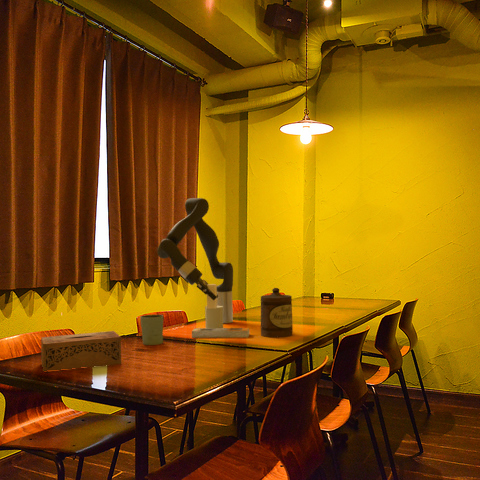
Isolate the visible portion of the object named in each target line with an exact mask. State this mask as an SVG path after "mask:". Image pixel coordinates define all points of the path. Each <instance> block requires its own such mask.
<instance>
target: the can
mask: <svg viewBox="0 0 480 480" xmlns="http://www.w3.org/2000/svg"><path fill="white" fill-rule="evenodd" d="M204 309H205V310H204V311H205V313H204V314H205V328H224V323H223V306H217V308H216V309H207V305H206V306H204Z"/></svg>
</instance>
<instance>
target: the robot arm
mask: <svg viewBox="0 0 480 480" xmlns="http://www.w3.org/2000/svg"><path fill="white" fill-rule="evenodd" d="M209 204H210V203H209V202H208V200H207V199H205V198H202V197H193V198H192V197H191V198H187V200H185V203H184V208H185V212H186V214H187V216H185V218H183V219H181V220H180V221H177V223H176V224H175V225H173V227H172V228H171V229H170V230H169V232H168V233H167V236H166V238H163V239H162V240H161V241H160V242H159V245H158V246H157V249H156V254H157V256H158V257H159V258H161V259H167V258H168V259H170V265H171V266H172V267H173V268H174V269H175V270H176V271H177V272H178V273H179V274H180V276H182V278H183V279H184V280H185V281H186V282H187V283H188V284H189V285H191V286H193V285H194V284H196V288H198V289H199V290H200V291H201V292H202V293H203V294H204V295H206V296H207V295H208V296H209V297H210V298H211V299H212V300H215V299H216V298H217V306H223V324H230V323H231V324H232V323H233V319H234V317H233V315H234V313H233V311H234V310H233V286H234V267H233V264H232V263H231V262H220V260H218V259H219V258H218V257H217V255H218V251H219V248H220V241H219V238H218V236H217V233H216V232H215V229H213V228H212V227H211V226H210V225H209V224H208V223H207V222H206V221H205V220H204V219H203V218H204V217H205V216H206V215H207V213H208V211H209V209H210V208H209V207H210V205H209ZM193 227H194V229H195V231H196V234H197V236H198V239H199V242H200V244H201V246H202V248H203V250H204V252H205V255H206V258H207V261H208V263H209V267H210V270H211V275H212V276H213V277H214V278H215V279H217V280H223V281H222V283H221V284H218V285H216V286H217V297H216V296H215V295H214V294H213V293H212V292H211V290H210V289H209V288H208V286H207V285H208V284H209V283H208V281H207V280H205V279H202V278H201V277H202V276H203V273H202V271H200V270H199V269H198V268H197V267H196V266H195V265H194V264H193V263H192V262H191V261H189V259H187V258H186V257H185V256H184V255H183V253H182V252H181V250H180V248H179V247H178V245H179V243H180V242H182V241H183V239H184V237H185V236H186V235H187V233H188V232H189V231H190V230H191V229H192V228H193Z"/></svg>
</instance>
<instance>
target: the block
mask: <svg viewBox="0 0 480 480" xmlns="http://www.w3.org/2000/svg"><path fill="white" fill-rule="evenodd" d="M207 286H208V288H209V289H210V290H211V292H212V293H213V294H214V295H215V296H216V297H217V286H218V285H217V284H215V283H211V284H209V283H208V285H207ZM206 306H207V309H216V308H217V298H216V299H215V300H212V299H211V298H210V297H209V296H208V295H206Z"/></svg>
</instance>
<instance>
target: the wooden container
mask: <svg viewBox="0 0 480 480" xmlns="http://www.w3.org/2000/svg"><path fill="white" fill-rule="evenodd" d="M271 292H272V293H271V294H264V295H261V296H260V335H261V336H262V337H265V338H279V339H280V338H287V337H291V336H292V335H293V333H294V332H293V327H294V326H293V304H292V301H293V297H292V295H290V294H281V293H280V288H278V287H274V288H272V290H271Z"/></svg>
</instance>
